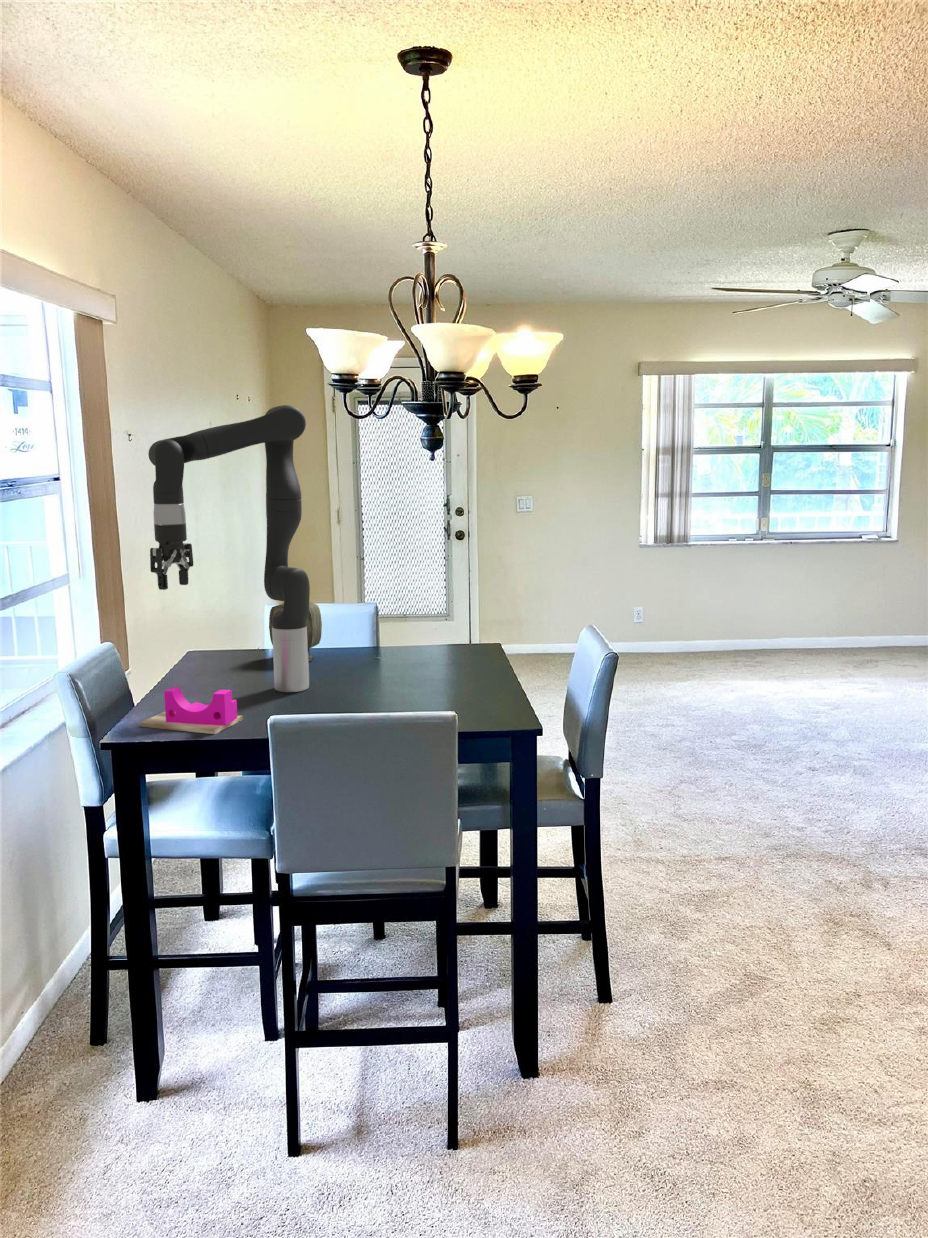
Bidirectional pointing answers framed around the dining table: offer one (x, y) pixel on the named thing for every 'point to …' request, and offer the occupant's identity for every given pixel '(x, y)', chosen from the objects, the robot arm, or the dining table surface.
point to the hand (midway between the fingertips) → (173, 587)
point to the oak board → (185, 725)
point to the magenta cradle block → (200, 708)
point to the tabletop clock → (312, 625)
